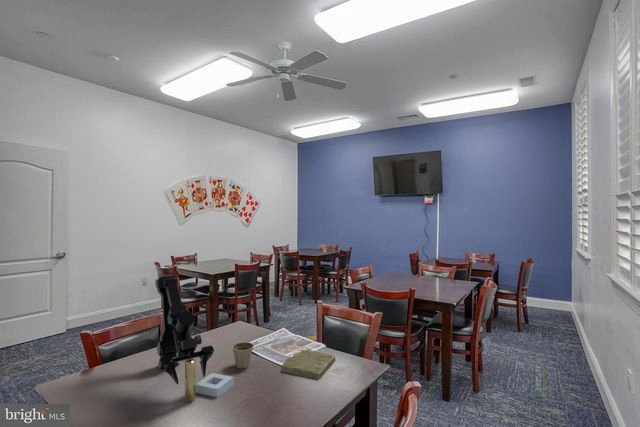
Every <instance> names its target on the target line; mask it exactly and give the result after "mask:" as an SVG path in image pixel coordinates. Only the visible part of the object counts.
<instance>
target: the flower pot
mask: <svg viewBox="0 0 640 427" xmlns="http://www.w3.org/2000/svg"><path fill="white" fill-rule="evenodd" d="M254 345H255V344H254V343H252V342H248V341H242V342H241V341H240V342H237V343H235V344H233V345H232V346H231V349H232V352H233V356H234V364H235V367H236V368H237V369H247V368H249V367H250V366H251V360H252V353H253V349H254V347H255V346H254Z"/></svg>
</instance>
